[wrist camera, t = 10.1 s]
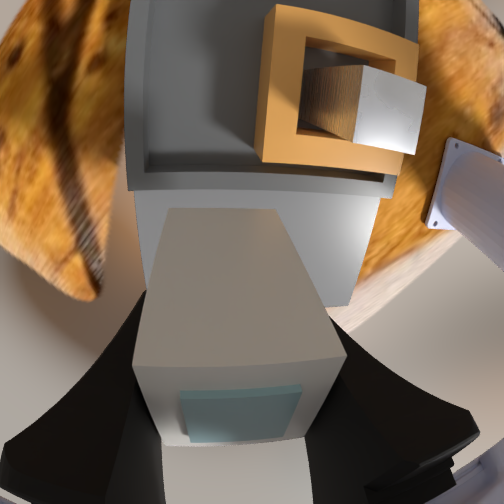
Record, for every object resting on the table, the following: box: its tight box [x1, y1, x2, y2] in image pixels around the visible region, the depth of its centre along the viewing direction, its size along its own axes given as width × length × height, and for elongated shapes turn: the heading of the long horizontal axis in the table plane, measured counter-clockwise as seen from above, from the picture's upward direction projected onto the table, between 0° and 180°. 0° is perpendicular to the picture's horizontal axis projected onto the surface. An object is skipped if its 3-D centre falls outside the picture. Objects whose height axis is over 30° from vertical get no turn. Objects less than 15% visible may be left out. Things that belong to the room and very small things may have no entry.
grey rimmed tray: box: [124, 0, 419, 199], centre depth 12 cm, size 16×18×4 cm
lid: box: [134, 189, 380, 307], centre depth 20 cm, size 16×11×1 cm, turn 86°
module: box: [132, 208, 347, 446], centre depth 9 cm, size 4×4×7 cm
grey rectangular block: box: [299, 65, 427, 155], centre depth 12 cm, size 3×3×7 cm
